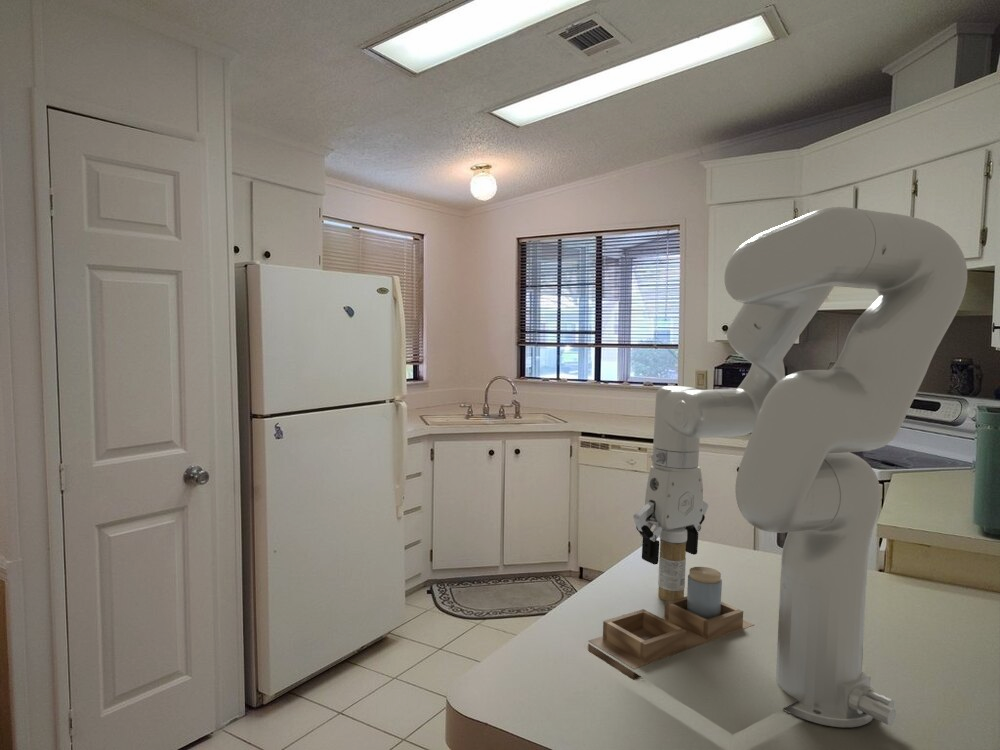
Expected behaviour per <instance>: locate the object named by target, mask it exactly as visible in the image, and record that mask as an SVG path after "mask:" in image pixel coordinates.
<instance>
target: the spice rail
mask: <svg viewBox="0 0 1000 750" xmlns="http://www.w3.org/2000/svg"><path fill="white" fill-rule="evenodd" d="M602 624H603V625H602V636H599V637H595V638H593V639H589V640H588V642H589V643H587V644H588V645H587V651H588V652H589V653H591V654H593V655H594V656H596V657H598V658H599V659H600V660H602V661H604V662H605V663H606V664H608V665H609V666H611V667H612V668H614V669H615V670H617V671H619V672H621V673H622V674H624V675H625V676H627V677H628V678H630V679H631V680H632V681H635V680H637V679H640V678H642V676H641V675H639V674H637V673H636V672H634V671H633V670H636V669H638V668H640V667H643V666H646V665H650V664H652V663H655V662H657V661H660V660H663V659H666V658H668V657H671V656H673V655H676V654H680V653H682V652H684V651H687V650H691V649H693V648H695V647H698V646H701V645H704V644H706V643H709V642H711V641H715V640H718V639H720V638H722V637H726V636H728V635H730V634H733V633H737V632H739V631H742V630H745V629H747V628H748V629H749V628H750V627H753V626H755V624H754V623H752V622H749V621H747V620H745V619H744V610H741V609H739V608H736V607H735V606H732V605H730V604H727V603H725V602H723V601H721V615H720V616H717V617H714V618H711V619H708V620H707V619H705V618H703V617H700V616H698V615H696V614H694V613H692V612H690V611H688V610H687V595H686V596H684V597H683V598H679V599H676V600H673V601H665V602H664V616H662V617H660V616H658V615H656V614H654V613H652V612H650V611H648V610H646V609H644V608H642V609H639V610H636V611H632V612H628V613H626V614H623V615H619V616H616V617H612V618H609V619H605V620H603V621H602ZM590 643H591V644H590ZM592 644H593V645H594V646H593V645H592ZM595 646H596V647H598V648H596V647H595ZM600 649H601V650H602V651H601V650H600ZM603 651H604V652H606V653H607V654H606V653H604V652H603ZM608 654H609V655H611V656H612V657H614V658H615V659H614V658H612V657H610V656H609V655H608ZM616 659H617V660H619V661H620V662H621V663H620V662H619V661H617V660H616ZM622 663H623V664H624V665H623V664H622ZM625 665H626V666H625ZM627 666H628V667H629V668H628V667H627ZM630 668H631V669H630ZM632 669H633V670H632Z"/></svg>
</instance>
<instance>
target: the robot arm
mask: <svg viewBox="0 0 1000 750" xmlns="http://www.w3.org/2000/svg"><path fill="white" fill-rule="evenodd" d="M959 245H960V244H958V242H957V241H956V240H955V238H953V236H952V235H951V234H949V233H948V232H947V231H946V230H944V229H943V228H941V227H940V226H938V225H936V224H934V223H932V222H930V221H928V220H926V219H925V220H924V219H922V218H917V217H914V216H911V215H910V216H909V215H905V214H899V213H892V212H886V211H884V212H883V211H875V210H870V209H869V210H868V209H863V208H862V209H861V208H856V207H848V206H835V207H833V206H832V207H824V208H821V209H817V210H814V211H812V212H809V213H806V214H804V215H801V216H799V217H797V218H794V219H792V220H789V221H787V222H785V223H782V224H780V225H778V226H775V227H772V228H770V229H768V230H765V231H763V232H760V233H758V234H756V235H754V236H753V237H751V238H749V239H748V240H745V241H744V242H743V243H742V244H741V245H739V246H738V247H737V248H736V250H734V252H733V253H732V254H731V256H730V258H729V260H728V262H727V264H726V267H725V271H724V286H725V290H726V292H727V293H728V295H729V296H730V297H731V298H732V299H733V300H735V301H736V302H739V303H741V304H742V305H741V308H740V309H739V311H738V312H737V314H736V316H735V317H734V319H733V320H732V322H731V323H730V325H729V327H728V329H727V332H726V339H727V341H728V343H729V346H731V348H732V349H733V350H734V351H735V352H736V353H737V355H739V356H740V357H742V358H743V359H745V360H746V361H748V362H749V363H750V364H751V366H750V369H749V370H748V372H747V374H746V376H745V377H744V379H743V380H742V381H741V383H740V384H739V385H738V386H737V387H736V389H698V388H696V387H691V386H683V385H666V386H665V385H664V386H660V387H659V388H658V390H657V391H656V395H655V405H654V406H655V408H654V429H653V442H652V443H653V446H652V455H651V458H650V460H651V461H652V464H651V466H650V469H649V473H648V478H647V483H646V489H645V490H646V491H645V497H644V505H643V507H642V508H640V509H639V510H638V511H637V512H635V513H634V515H633V520H634V523H635V526H636V531H638V533H639V535H640V537H641V538H642V542H641V543H642V545H641V546H642V547H641V559H642V560H644V561H645V562H647V563H650V564H652V565H654V566H655V565H659V560H660V559H659V558H660V540H657V539H658V538H659V534H660V533H661V531H662V529H665V530H672V529H677V528H682V527H683V528H685V529H686V530H687V541H686V542H687V543H686V553H688V554H690V555H697V554H698V548H699V547H698V545H699V532H701V530H702V524H703V522H704V521H705V518H706V517H705V515H706V513H707V510H708V508H709V504H708V503H707V502H705V501H704V490H703V489H704V488H703V477H702V471H701V470H702V469H701V467H700V466H699V456H700V442H701V441H700V439H701V438H703V439H705V438H719V437H720V438H721V437H722V438H723V437H724V438H725V437H727V438H728V437H742V436H747V435H749V434H750V436H749V439H748V442H747V444H746V448H745V450H744V453H743V454H742V455H743V456H742V459H741V461H740V464H739V467H738V471H737V474H736V479H735V488H734V489H735V501H736V504H737V506H738V507H737V508H738V509H739V512H740V514H741V515H742V517H743V518H744V519H745V520H746V521H747V522H748V523H749V525H751V526H752V527H754V528H756V529H758V530H760V531H764V532H767V533H775V534H778V533H781V534H782V533H783V534H784V533H787V535H786V537H785V540H784V544H783V547H782V551H781V559H780V560H781V561H780V579H779V581H780V582H779V601H778V602H779V603H778V623H777V625H778V626H777V642H776V643H777V644H776V645H777V646H776V664H775V665H776V668H775V681H776V683H777V686H779V688H780V689H781V690H782V691H784V692H785V693H786V694H787V695H788V696H790V697H792V698H794V699H795V700H797V701H795V702H793V703H792V704H789V705H788V706H786V707H784V708H782V710H784V711H786V712H787V713H789V714H792V715H794V716H796V717H797V718H800V719H803V720H806V721H808V722H811V723H815V724H818V725H823V726H828V727H835V728H856V727H857V728H858V727H862V726H864V725H866V724H868V723H870V722H872V721H873V719H874V720H877V721H879V722H881V723H883V724H884V725H886V726H889V727H890V726H892V725H893V724H894V723H895V721H896V716H897V713H896V709H895V708H894V705H895V700H894V699H893V698H890V697H888V696H885V695H884V694H881V693H878V692H875V691H874V689H873V688H872V687H871V682H872V681H871V680H872V676H871V674H868V673H865V672H864V671H863V659H864V658H863V657H864V641H865V640H864V639H865V636H864V635H865V619H866V618H865V617H866V600H867V598H866V597H867V583H868V568H869V567H868V565H869V557H870V555H869V554H870V548H871V541H872V535H873V532H874V528H875V524H876V521H877V518H878V514H879V510H880V506H881V505H880V504H881V486H880V482H879V479H878V476H877V474H876V472H875V470H874V469H873V467H872V466H871V465H870V464H869V463H868V462H867V461H866V460H864V459H863V458H862V457H860V456H859V455H857V454H855V453H859V452H868V451H873V450H878V449H880V448H881V449H882V448H883V447H886V446H887V445H888V444H890V442H893V440H894V439H895V437H896V436H897V435H898V433H899V431H900V430H901V427H902V426H903V423H904V421H905V419H906V416H907V414H908V412H909V410H910V408H911V406H912V403H913V402H914V400H915V397H916V396H917V393H918V391H919V389H920V387H921V385H922V383H923V380H924V378H925V377H926V375H927V371H928V369H929V367H930V365H931V361H932V359H933V358H934V355H935V353H936V352H937V349H938V347H939V345H940V344H941V342H942V340H943V338H944V336H945V334H946V333H947V331H948V329H949V327H950V325H951V324H952V322H953V320H954V318H955V317H956V314H957V313H958V311H959V309H960V307H961V304H962V302H963V299H964V296H965V293H966V288H967V283H968V267H967V262H966V257H965V255H964V253H963V251H962V249H961V247H960V246H959ZM834 287H839V288H841V287H842V288H851V289H865V290H866V289H867V290H868V289H869V290H875V291H877V293H878V297H877V298H876V299H875V301H873V302H872V303H871V304H870V306H868V307H867V308H866V309H865V311H864V312H863V313H861V315H860V316H859V317H858V318H857V319H856V321H855V322H854V324H853V325H852V326H851V329H850V331H849V332H848V335H847V337H846V340H845V343H844V346H843V348H842V350H841V352H840V354H839V356H838V358H837V360H836V362H835V363H834V365H833V366H832V367H831V368H829V369H805V370H799V371H796V372H792V373H790V374H788V375H786V371H785V370H786V369H785V365H784V364H785V363H784V358H785V357H786V355H787V354H788V352H789V351H790V349H791V348H792V346H793V345H795V342H796V341H797V339H798V338H799V337H800V335H801V334H802V332H803V331H804V330H805V329H806V327H807V326H808V324H809V323H810V322H811V320H812V319H813V317H814V316H815V315H816V313H817V312H818V310H819V309H820V308H821V306H822V305H823V304H824V302H825V301H826V299H827V298H828V296H829V295H830V294H831V292H832V291H833V289H834ZM652 527H654V529H653V530H652Z"/></svg>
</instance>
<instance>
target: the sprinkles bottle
mask: <svg viewBox="0 0 1000 750" xmlns="http://www.w3.org/2000/svg"><path fill="white" fill-rule="evenodd" d="M685 528H686V527H685ZM685 528H683V527H682V528H677V529H672V530H665V529H662V531H661V533H660V534H659V536H658V538H659V560H658V576H657V577H658V579H657V580H658V581H657V584H658V589H657V590H658V598H660V600H661V599H662V600H663V601H665V602H669V601H673V600H676V599H679V598H683V597H685V586H686V584H685V583H686V563H687V562H686V561H687V558H686V553H687V552H686V543H687V542H686V541H687V530H686V529H685Z"/></svg>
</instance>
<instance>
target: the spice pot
mask: <svg viewBox="0 0 1000 750" xmlns="http://www.w3.org/2000/svg"><path fill="white" fill-rule="evenodd" d="M688 571H689V573H688V575H687V587H686V588H687V590H686V591H687V592H686V593H687V594H686V596H687V610H688V611H690V612H692V613H694V614H696V615H698V616H700V617H703V618H705V619H707V620H708V619H711V618H714V617H717V616H720V615H721V602H722V591H723V590H722V587H723V580H722V574H721V572H720V571H719V570H717V569H714V568H711V567H707V566H694V567H693V566H692V567H690V568H689V570H688Z"/></svg>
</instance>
